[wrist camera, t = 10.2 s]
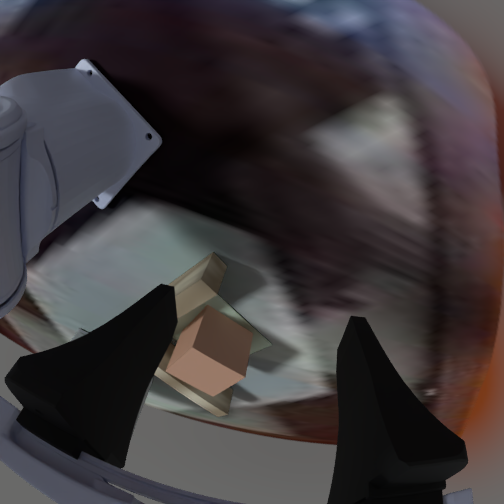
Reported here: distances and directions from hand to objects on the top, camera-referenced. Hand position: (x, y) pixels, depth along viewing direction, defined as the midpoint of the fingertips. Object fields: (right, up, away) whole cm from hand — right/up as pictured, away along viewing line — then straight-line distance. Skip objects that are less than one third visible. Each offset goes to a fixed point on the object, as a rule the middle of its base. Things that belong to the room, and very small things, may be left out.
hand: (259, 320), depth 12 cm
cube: (-4, -5, +16) cm, 17 cm away
